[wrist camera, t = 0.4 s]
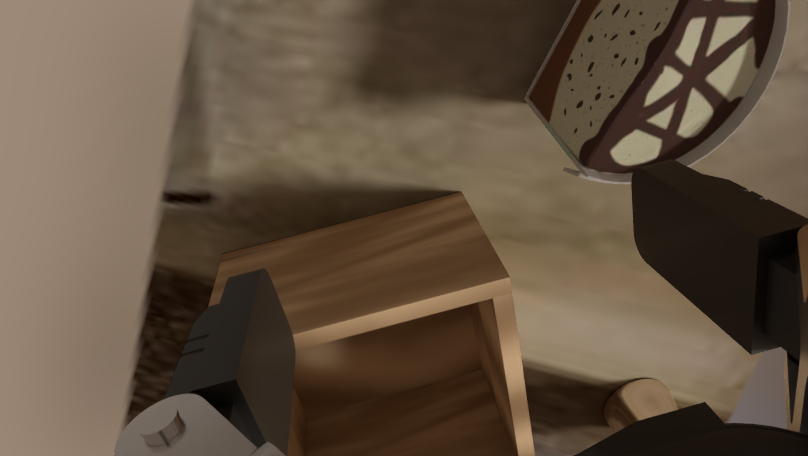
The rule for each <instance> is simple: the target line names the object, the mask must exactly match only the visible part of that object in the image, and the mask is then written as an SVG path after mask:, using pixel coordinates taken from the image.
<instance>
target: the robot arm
mask: <svg viewBox="0 0 808 456" xmlns="http://www.w3.org/2000/svg"><path fill="white" fill-rule="evenodd" d="M631 185H632V205H633V225H634V238H635V243H636V246H637V249H638V251H639V253H640V255H641V256H642V258H643V259H644V261H645V262H646V263H647V264H649V265H650V266H651V267H652V268H653V269H654V270H655V271H657V272H658V273H659V274H660V275H661V276H662V277H663V278H664V279H666V280H667V281H668V282H669V283H670V284H671V285H672V286H674V287H675V288H676V289H677V290H678V291H679V292H680V293H682V294H683V295H684V296H685V297H686V298H687V299H688V300H690V301H691V302H692V303H693V304H694V305H695V306H696V307H697V308H699V309H700V310H701V311H702V312H703V313H704V314H705V315H707V316H708V317H709V318H710V319H711V320H712V321H713V322H715V323H716V324H717V325H718V326H719V327H720V328H721V329H722V330H724V331H725V332H726V333H727V334H728V335H729V336H730V337H732V338H733V339H734V340H735V341H736V342H737V343H738V344H740V345H741V346H742V347H743V348H744V349H745V350H746V351H748V352H749V353H750V354H751V355H753V354H756V353H760V352H764V351H767V350H771V349H774V348H778V347H782V348H783V349H784V350H786V356H785V366H784V371H785V392H786V393H785V394H786V415H787V429H782V428H778V427H772V426H765V425H757V424H743V423H723V421H722V420H721V419H720V418H719V417H718V416H717V415H716V414H715V413H714V411H713V410H712V409H711V408H710V407H709V406H708V405H707V404H706V403H705V402H704V403H700V404H696V405H693V406H689V407H686V408H682V409H678V410H675V411H671V412H668V413H664V414H660V415H657V416H653V417H650V418H646V419H642V420H639V421H636V422H634V423H632V424H630V425H629V426H627V427H625V428H623V429H621V430H620V431H618V432H616V433H614V434H613V435H611V436H609V437H607V438H606V439H604V440H602V441H600V442H598V443H597V444H595V445H593V446H591V447H590V448H588V449H586V450H584V451H583V452H581V453H579V454H577V455H575V456H808V219H807V218H805V217H803V216H801V215H799V214H797V213H795V212H793V211H791V210H789V209H787V208H785V207H783V206H781V205H779V204H777V203H775V202H773V201H771V200H769V199H768V200H765V199H764V197H763V196H761V195H759V194H757V193H755V192H753V191H751V192H749V191H748V189H746V188H744V187H742V186H740V185H738V184H736V183H734V182H732V181H730V180H727V179H723V178H718V177H714V176H709V175H704V174H701V173H699V172H697V171H695V170H693V169H691V168H689V167H687V166H685V165H683V164H681V163H679V162H677V161H675V160H667V161H663V162H659V163H655V164H652V165H648V166H644V167H641V168H637V169H635V170H634V172H633V174H632V179H631ZM187 341H188V343H186V344H185V347H184V349H183V352H182V357H181V358H180V359H179V362H178V365H177V367H176V370H175V372H174V375H173V377H172V380H171V382H170V385H169V387H168V390H167V393H166V395H165V398H164V400H161V401H159V402H157V403H155V404H153V405H152V406H150V407H149V408H147V409H146V410H144V411H143V412H141V413H140V414H139V415H138V416H136V417H135V418H134V419H133V420H132V421H131V422H130V423H129V424H128V425H127V426H126V428H125V429H124V430H123V431H122V433H121V435H120V436H119V438H118V440H117V443H116V446H115V456H287V452H288V441H289V429H290V417H291V405H292V394H293V382H294V370H295V358H296V351H295V343H294V338H293V334H292V331H291V328H290V325H289V323H288V320H287V318H286V315H285V313H284V310H283V308H282V305H281V303H280V300H279V297H278V295H277V292H276V290H275V287H274V285H273V282H272V280H271V278H270V275H269V274H268V272H267V271H266V269H264V268H262V269H258V270H254V271H251V272H247V273H243V274H239V275H236V276H232V277H229V278H228V280H227V282H226V285H225V288H224V291H223V294H222V297H221V300H220V303H219V304H216V305H212V306H209V307H208V308H207V309H206V310H205V311H204V312H203V314H202V315H201V316H200V317H199V318H198V319H197V320H196V321H195V322H194V324H193V326H192V329H191V331H190V334H189V337H188V339H187Z"/></svg>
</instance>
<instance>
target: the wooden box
mask: <svg viewBox="0 0 808 456" xmlns="http://www.w3.org/2000/svg"><path fill="white" fill-rule="evenodd" d="M262 268H264V269H266V271H267V272H268V274H269V275H270V278H271V280H272V282H273V285H274V287H275V290H276V292H277V295H278V297H279V300H280V303H281V305H282V308H283V310H284V313H285V315H286V318H287V320H288V323H289V325H290V328H291V331H292V334H293V338H294V343H295V351H296V358H295V370H294V382H293V394H292V405H291V417H290V429H289V441H288V452H287V456H535V453H534V446H533V439H532V432H531V425H530V417H529V410H528V403H527V396H526V389H525V382H524V375H523V367H522V360H521V353H520V346H519V339H518V332H517V324H516V317H515V310H514V303H513V296H512V289H511V282H510V276H509V275H508V273H507V271H506V269H505V268H504V266H503V264H502V262H501V261H500V259H499V257H498V255H497V254H496V252H495V250H494V248H493V246H492V245H491V243H490V241H489V239H488V238H487V236H486V234H485V232H484V231H483V229H482V227H481V225H480V224H479V222H478V220H477V218H476V216H475V215H474V213H473V211H472V209H471V208H470V206H469V204H468V202H467V201H466V199H465V197H464V195H463V194H462V192H459V193H455V194H451V195H447V196H444V197H440V198H436V199H432V200H428V201H424V202H421V203H417V204H413V205H409V206H405V207H402V208H398V209H394V210H390V211H386V212H382V213H379V214H375V215H371V216H367V217H363V218H360V219H356V220H352V221H348V222H344V223H340V224H337V225H333V226H329V227H325V228H321V229H318V230H314V231H310V232H306V233H302V234H298V235H295V236H291V237H287V238H283V239H279V240H276V241H272V242H268V243H264V244H260V245H256V246H253V247H249V248H245V249H241V250H237V251H234V252H230V253H226V254H223V255H222V259H221V262H220V266H219V269H218V273H217V277H216V280H215V284H214V287H213V291H212V295H211V298H210V302H209V305H208V307H209V306H212V305H216V304H219V303H220V300H221V297H222V294H223V291H224V288H225V285H226V282H227V280H228V278H229V277H232V276H236V275H239V274H243V273H247V272H251V271H254V270H258V269H262Z"/></svg>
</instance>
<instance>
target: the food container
mask: <svg viewBox="0 0 808 456" xmlns="http://www.w3.org/2000/svg"><path fill="white" fill-rule="evenodd" d="M790 7H791V5H790V0H577V1H576V3H575V4H574V6H573V8H572V10H571V12H570V14H569V16H568V17H567V19H566V21H565V23H564V25H563V27H562V28H561V30H560V32H559V34H558V36H557V38H556V40H555V41H554V43H553V45H552V47H551V49H550V51H549V53H548V54H547V56H546V58H545V60H544V62H543V64H542V65H541V67H540V69H539V71H538V73H537V75H536V77H535V78H534V80H533V82H532V84H531V86H530V88H529V89H528V91H527V93H526V95H525V97H524V100H525V101H526V102H527V104H528V105H529V106H530V107H531V109H532V110H533V111H534V113H535V114H536V115H537V116H538V118H539V119H540V120H541V122H542V123H543V124H544V125H545V127H546V128H547V129H548V130H549V132H550V133H551V134H552V136H553V137H554V138H555V139H556V141H557V142H558V143H559V145H560V146H561V147H562V148H563V150H564V151H565V152H566V154H567V155H568V156H569V157H570V159H571V160H572V161H573V163H574V164H575V165H576V166H577V168H578V169H579V172H578V171H575V170H571V169H568V168H565V167H564V170H563V171H566V172H568V173H570V174H573V175H575V176H578V177H581V178H584V179H587V180H591V181H594V182H602V183H609V184H631V179H632V174H633V172H634V170H635V169H637V168H641V167H644V166H648V165H652V164H655V163H659V162H663V161H667V160H675V161H677V162H679V163H681V164H683V165H685V166H687V167H690V166H692V165H694V164H695V163H697V162H699V161H700V160H702V159H703V158H705V157H707V156H708V155H709V154H711V153H712V152H713V151H714V150H716V149H717V148H718V147H720V146H721V145H722V144H723V143H725V142H726V141H727V140H728V139H729V138H730V137H731V136H732V135H733V134H734V133H735V132H736V131H737V130H738V129H739V128H740V127H741V126H742V124H743V123H744V122H745V121H746V119H747V118H748V117H749V116H750V114H751V113H752V112H753V111H754V109H755V108H756V106H757V105H758V103H759V102H760V100H761V99H762V97H763V96H764V94H765V92H766V91H767V89H768V87H769V85H770V83H771V81H772V79H773V77H774V75H775V73H776V71H777V68H778V65H779V62H780V59H781V57H782V54H783V51H784V47H785V43H786V38H787V34H788V29H789V19H790Z"/></svg>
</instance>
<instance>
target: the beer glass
mask: <svg viewBox="0 0 808 456" xmlns="http://www.w3.org/2000/svg"><path fill="white" fill-rule="evenodd" d="M675 410H678V407H677V405H676V403H675V401H674V399H673V397H672V395H671V393H670V391H669V389H668V388H667V386H666V385H665V384H663V383H662V382H660V381H658V380H655V379H639V380H635V381H632V382H629V383H627V384H625V385H623V386H622V387H620V388H619V389H617V390H616V391H615V392H614V393H613V394H612V395H611V396H610V397H609V398H608V400H607V402H606V404H605V406H604V411H603V414H604V418H605V420H606V422H607V424H608V425H609V426H610V427H611V428H612V430H613V431H614V432H615V433H616V432H618V431H620V430H621V429H623V428H625V427H627V426H629V425H630V424H632V423H634V422H636V421H639V420H642V419H646V418H650V417H653V416H657V415H660V414H664V413H668V412H671V411H675Z"/></svg>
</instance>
